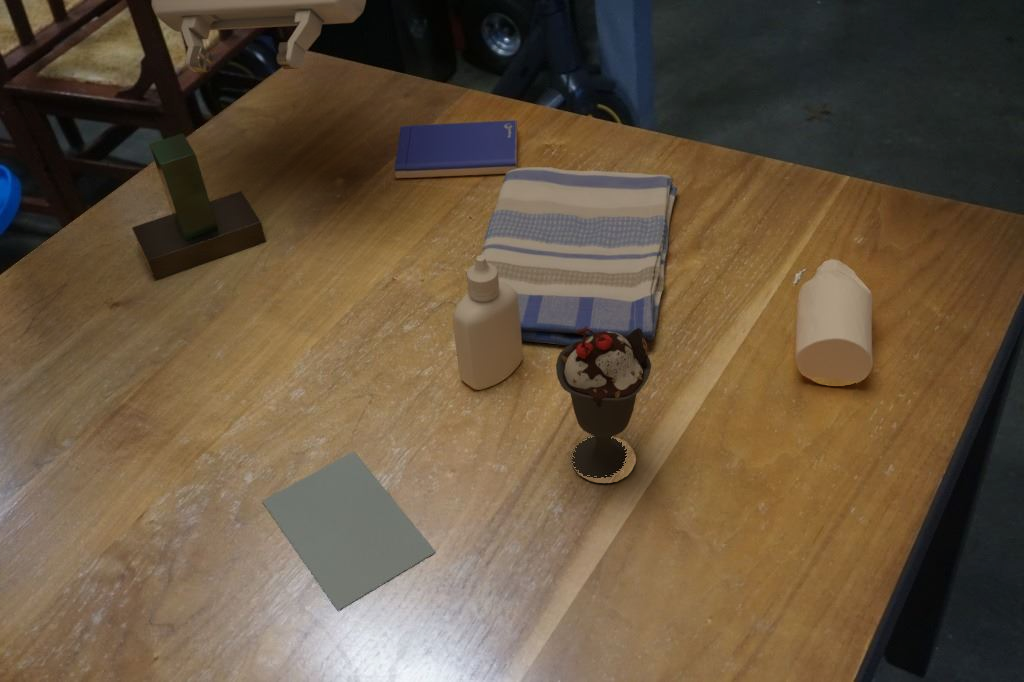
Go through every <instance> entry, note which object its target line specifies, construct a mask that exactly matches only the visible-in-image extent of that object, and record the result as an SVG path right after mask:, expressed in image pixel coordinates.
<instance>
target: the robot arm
mask: <svg viewBox="0 0 1024 682" xmlns="http://www.w3.org/2000/svg"><path fill="white" fill-rule="evenodd" d="M366 3H367V0H151V8H152V11H153V13H154V14H155V16H156V18H158V19H159V20H160V21H161V22H162V23H164V24H165V25H166V26H168V27H169V28H170V29H171V30H173V31H175V32H178V33H182V35H183V39H184V41H185V44H186V47H187V50H186V56H185V61H184V64H185V67H186V68H187V69H188V70H190V71H191V72H193V73H209V72H211V70H212V64H213V61H214V55H213V54H212V53H211V52H210V51H207V49H206V48H205V45H204V41H203V40H205V41H206V40H208V39H209V36H210V32H211V31H220V30H240V29H242V30H243V29H258V28H259V29H260V28H278V27H295V26H296V27H295V30H294V31H293V33H292V34H291V36H290V37H289V39H288V40H287V41H285V42H283V41H282V42H278V43H279V44H278V48H277V50H278V53H277V54H276V62H277V64H278V65H279V66H281V67H282V69H283V70H301V69H302V67H303V63H304V58H305V53H306V52H307V51H308V50H309V49H310V47H312V45H313V44H314V43H315V42H316V40H317V39H318V37H320V35H321V32H322V28H323V25H335V24H353V23H354V22H355V21H356V20H357V19H358V18H359V17H360V16H361V15H362V14H363V13H364V10H365V7H366Z"/></svg>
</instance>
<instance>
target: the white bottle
mask: <svg viewBox="0 0 1024 682" xmlns="http://www.w3.org/2000/svg"><path fill="white" fill-rule="evenodd" d="M873 303H874V302H873V294H872V291H871V290H870V289H869V288H868V287H867V285H866V284H865V283H864V282H863V281H862V280H861V278H860V277H858V276H857V274H856V272H855V270H853V269H851V268H850V267H849V266H848V265H847V264H844V263H843V262H842V261H840V260H839V259H835V258H834V259H833V258H830V259H828V260H825V261H823V262H822V263H821V265H819V266H818V267H816V270H815V275H814V276H813V277H812V278H811V279H809V280H808V281H806V282H804V283H803V284H802V286H801V288H800V289H799V292H798V295H797V306H796V320H795V348H794V349H795V350H794V351H795V353H794V363H795V366H796V368H797V370H798V371H799V373H800V374H801V376H803V377H804V376H810V377H822V378H826V379H838V380H839V379H840V380H844V381H857V382H859V383H861V382H862V381H863V380H865V379H866V378H867V377H868V376H869V375H871V372H872V369H873V366H874V362H873V360H874V356H873V332H872V330H873V305H874V304H873Z"/></svg>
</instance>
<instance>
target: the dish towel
mask: <svg viewBox="0 0 1024 682" xmlns="http://www.w3.org/2000/svg"><path fill="white" fill-rule="evenodd" d="M673 182H674V177H672V176H669V174H660V173H659V174H651V173H650V174H649V173H644V172H643V173H642V172H622V171H621V172H620V171H604V170H572V169H571V170H570V169H559V168H557V167H556V168H555V167H550V166H548V167H547V166H545V167H540V166H539V167H538V166H526V167H525V166H524V167H517V169H513V170H511V171H509V172H508V173H505V176H504V178H503V182H502V185H501V187H500V189H499V192H498V196H497V199H496V204H495V206H494V208H493V211H492V213H491V217H490V219H489V222H488V225H487V230H486V232H485V235H484V240H483V248H482V251H481V254H480V255H483V256H485V258H486V261H487V263H489V264H492V265H494V266H495V267H496V268H497V270H498V279H499V282H503V283H506V284H507V285H509V286H510V287H512V288H513V289H514V290H515V291H516V293H517V295H518V302H519V312H520V325H521V338H522V342H531V343H539V344H553V345H559V346H569V345H570V344H573V343H575V342H577V341H579V340H582V339H583V337H584V334H579V333H578V332H577V330H580V329H583V328H585V327H586V326H587V329H589V330H591V331H593V332H594V333H596V334H597V333H599V332H603V331H610V332H616V333H618V334H620V335H622V336H623V337H626V336H627V335H629V334H630V333H631V332H633V331H634V330H635V329H637V328H640V329H641V330H642V334H643V337H644V339H645V342H646V345H647V346H648V342H649V340H654V339H655V336H656V328H657V323H658V317H659V309H660V303H661V298H662V293H663V291H664V286H665V265H666V258H667V254H668V249H669V236H670V222H671V217H672V211H673V207H674V203H675V200H676V193H677V191H678V189H679V187H678V186H677V185H675V184H673ZM585 333H586V337H589V336H593V335H594V334H592V333H591V332H589V331H586V332H585Z"/></svg>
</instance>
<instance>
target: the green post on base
mask: <svg viewBox="0 0 1024 682" xmlns="http://www.w3.org/2000/svg"><path fill="white" fill-rule="evenodd" d="M149 148H150V151H151V154H152V157H153V160H154V163H155V166H156V169H157V172H158V175H159V178H160V181H161V183H162V187H163V189H164V193H165V195H166V198H167V202H168V204H169V208H170V210H171V214H168V215H165V216H161V217H159V218H155V219H154V220H153V219H152V220H150V221H147V222H144V223H141V224H138V225H135V226H133V227H131V229H132V232H133V234H134V238H135V240H136V242H137V245H138V248H139V250H140V252H141V254H142V256H143V258H144V261H145V262H146V265H147V267H148V269H149V271H150V273H151V276H152V277H153V278H152V279H153V280H154V281H157V280H160V279H163V278H165V277H169V276H171V275H174V274H177V273H179V272H183V271H186V270H188V269H192V268H195V267H197V266H200V265H203V264H206V263H209V262H212V261H214V260H217V259H220V258H223V257H226V256H229V255H231V254H235V253H237V252H241V251H243V250H245V249H249V248H251V247H254V246H257V245H259V244H260V245H261V244H262V243H265V242H267V240H266V236H265V233H264V229H263V224H262V221H261V220H260V219H259V217H258V214H257V213H256V212H255V210H254V208H253V207H252V205H251V203H250V202H249V200H248V199H247V197H246V196H245V194H244V192H243V191H242V190H240V191H237V192H234V193H231V194H228V195H225V196H222V197H219V198H216V199H213V200H210V198H209V194H208V191H207V189H206V188H207V187H206V184H205V181H204V177H203V175H202V171H201V168H200V165H199V161H198V158H197V155H196V153H195V151H194V149H193V148H192V146H191V143H190V142H189V141H188V139H187V137H186V136H185V133H179V134H177V135H173V136H170V137H166V138H164V139H160V140H157V141H153V142H151V143H149Z"/></svg>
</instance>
